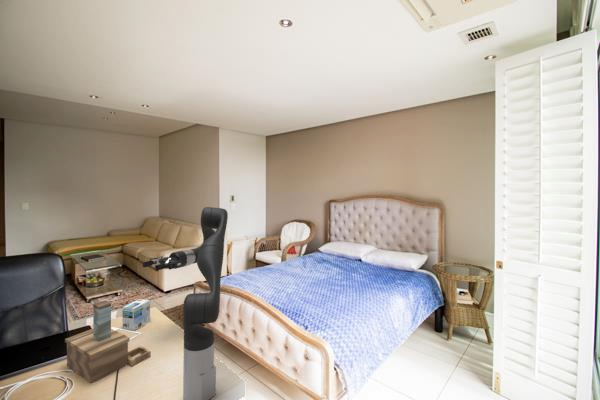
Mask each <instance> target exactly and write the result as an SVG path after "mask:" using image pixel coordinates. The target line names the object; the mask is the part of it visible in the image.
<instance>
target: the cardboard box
mask: <svg viewBox="0 0 600 400" xmlns="http://www.w3.org/2000/svg"><path fill="white" fill-rule="evenodd" d="M130 339H131V338H130V337H129V336H127V335H125V334H124V333H121V332H119V331H115V330H113V329H111V337H110V338H107V339H105V340H102V341H100V342H98V341H96V340H94V339H93V328H90V329H88V330H85V331H83V332H80V333H77V334H75V335H71V336H70V337H67V338H64V343H66V367H67V368H69V369H71V370H72V371H73V372H75V373H76V374H78V375H79V376H80V377H82V378H83V379H84V380H86V381H87V382H89V383H90V384H93V383H95V382H97V381H98V380H101V379H103V378H105V377H106V376H109V375H110V374H112V373H114V372H116V371H119V370H120V369H122V368H123V367H124V368H125V367H126V366H130V367H134V366H135V365H138V364H139V363H142V362H143V361H145V360H147V359H149V358H150V357H151V355H152V351H151V350H149V349H148V348H145V347H143V346H141V345H139V346H137V347H135V348H134V349H131V350H129V342H131V341H130ZM128 341H129V342H128ZM138 354H139V355H138ZM134 356H135V357H134Z"/></svg>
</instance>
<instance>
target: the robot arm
mask: <svg viewBox="0 0 600 400" xmlns="http://www.w3.org/2000/svg"><path fill="white" fill-rule="evenodd" d="M228 213H229V212H228V211H227V210H226V208H221V207H211V206H206V207H203V208H202V210H201V214H200V228H201V233H202V238H203V240H202V244H201V245H199V246H198V247H196V248H191V249H183V250H179V251H174V252H171V253H170V254H169V256H159V257H158V256H157V257H151V258H149V260H146V261H142V268H147V267H151V266H152V267H154V271H157V272H158V271H160V270H161V271H162V270H173V269H174V270H177V269H180V268H183V267H187V266H190V265H193V264H197V268H198V270H199V271H200V273H201V275H202V276H203V277H204V279H205V281H206V282H207V284H208V287H209V290H210V292H198V293H197V292H196V293H189V294H187V295H186V296H185V298H184V300H183V307H182V316H183V317H182V319H183V375H182V377H183V379H182V382H183V384H182V385H183V386H182V387H183V390H182V399H183V400H209V399H210V398H211V397H212V396H213V397H214V396H215V395H216V394H217V392H216V391H217V390H216V389H217V387H216V383H217V366H216V365H214V362H215V333H214V331H213V330H212V329H210V328H208V327H205V326H202V325H203V324H205V325H206V324H213V323H216V322H217V321H218V318H219V313H220V305H221V304H220V303H221V278H222V277H221V276H222V271H223V262H224V254H225V252H224V251H225V236H226V230H227V225H228V219H229V218H228V217H229V216H228V215H229V214H228ZM213 397H212V398H213ZM212 398H211V399H212ZM211 399H210V400H211Z"/></svg>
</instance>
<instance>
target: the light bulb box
mask: <svg viewBox="0 0 600 400" xmlns="http://www.w3.org/2000/svg"><path fill="white" fill-rule="evenodd" d="M149 322H151V300H150V299H142V298H138V299H136V300H134V301H133V302H130V303H128V304H126V305H124V306H122V324H121V325H122V328H121V329H124V330H129V331H134V332H136V330H138V329H140V328H141V327H143V326H145V325H146V324H148V323H149Z"/></svg>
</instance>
